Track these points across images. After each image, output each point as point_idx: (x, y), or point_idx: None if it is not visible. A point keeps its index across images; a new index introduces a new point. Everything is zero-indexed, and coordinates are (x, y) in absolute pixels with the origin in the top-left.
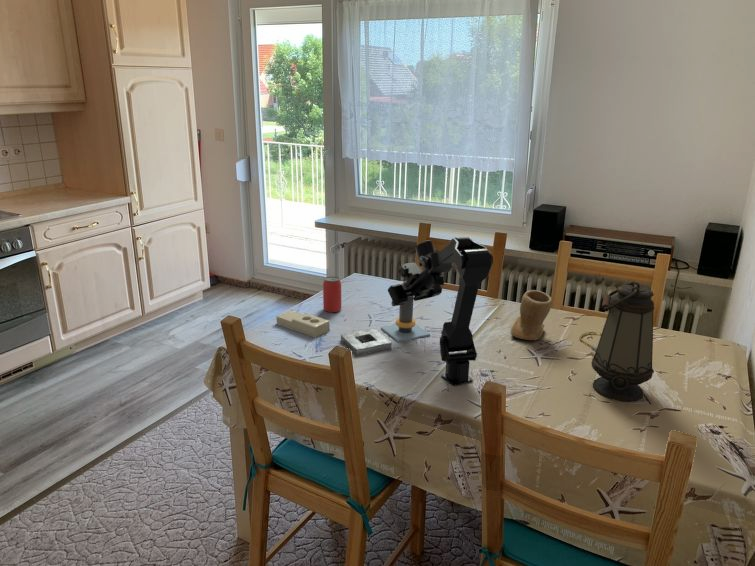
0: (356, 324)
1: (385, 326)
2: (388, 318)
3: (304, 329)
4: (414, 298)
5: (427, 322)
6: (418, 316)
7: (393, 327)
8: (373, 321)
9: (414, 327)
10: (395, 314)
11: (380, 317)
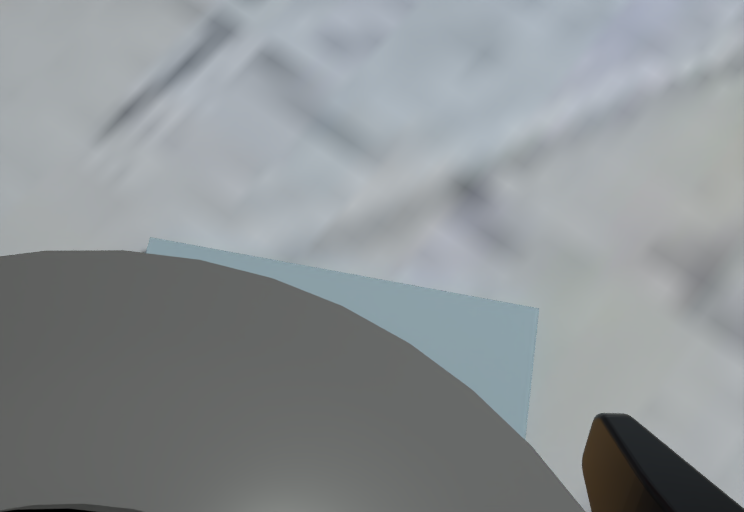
0: (42, 25)
1: (201, 255)
2: (401, 88)
3: None
4: (605, 465)
5: (696, 408)
6: (704, 222)
7: None
8: (227, 61)
9: None
10: (525, 52)
11: (351, 26)
